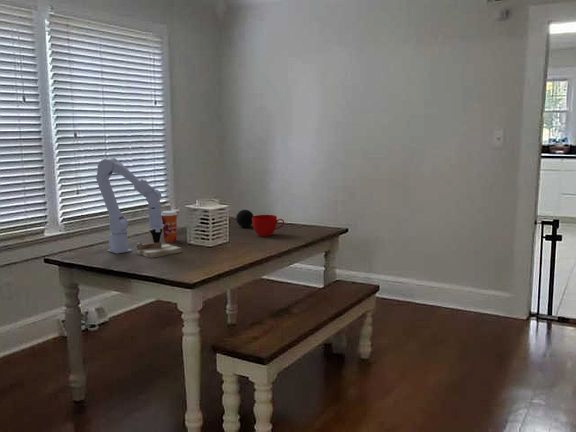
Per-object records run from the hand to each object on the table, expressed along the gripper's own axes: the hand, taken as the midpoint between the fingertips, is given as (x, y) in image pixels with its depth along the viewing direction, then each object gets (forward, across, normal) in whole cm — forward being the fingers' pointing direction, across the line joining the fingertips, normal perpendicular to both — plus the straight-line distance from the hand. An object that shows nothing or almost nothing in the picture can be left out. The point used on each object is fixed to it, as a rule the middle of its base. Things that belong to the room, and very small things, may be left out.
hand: (156, 244), depth 282 cm
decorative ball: (+4, +42, -55) cm, 70 cm away
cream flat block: (+3, -4, 0) cm, 5 cm away
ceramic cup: (+4, +14, -60) cm, 62 cm away
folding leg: (+1, -2, +4) cm, 4 cm away
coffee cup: (+3, +22, -10) cm, 24 cm away
